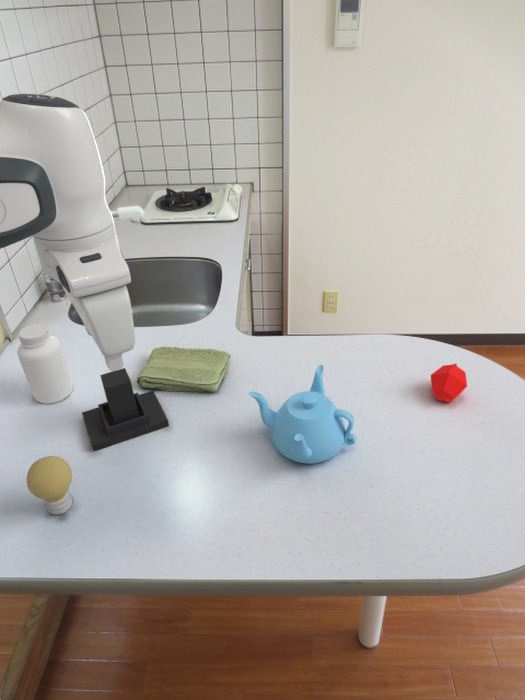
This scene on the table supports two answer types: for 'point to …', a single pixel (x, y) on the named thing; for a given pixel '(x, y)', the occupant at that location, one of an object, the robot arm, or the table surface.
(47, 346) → the pill bottle
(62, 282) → the robot arm
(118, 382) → the pad block
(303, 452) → the teapot
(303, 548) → the table surface
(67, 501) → the light bulb
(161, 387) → the washcloth
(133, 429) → the base pad
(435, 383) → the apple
